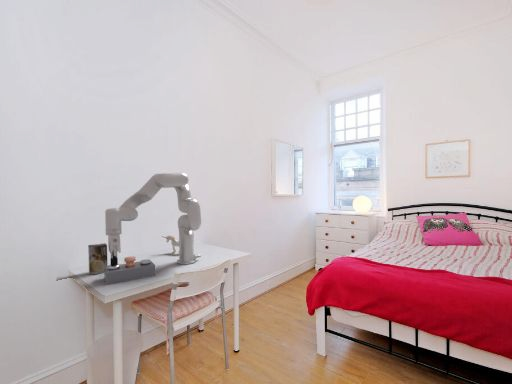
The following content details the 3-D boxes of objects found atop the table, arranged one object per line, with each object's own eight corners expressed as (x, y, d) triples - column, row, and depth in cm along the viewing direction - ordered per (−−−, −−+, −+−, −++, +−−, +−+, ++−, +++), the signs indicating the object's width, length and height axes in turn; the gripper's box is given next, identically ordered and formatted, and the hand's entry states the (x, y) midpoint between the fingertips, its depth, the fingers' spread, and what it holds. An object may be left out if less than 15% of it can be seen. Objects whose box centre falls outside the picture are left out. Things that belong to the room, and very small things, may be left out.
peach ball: (134, 266, 149) (134, 256, 149) (136, 269, 145) (136, 258, 144) (123, 268, 146) (123, 257, 146) (125, 270, 141) (125, 259, 141)
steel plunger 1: (118, 274, 145) (118, 263, 144) (120, 277, 140) (120, 265, 140) (107, 276, 141) (107, 265, 141) (108, 279, 137) (108, 267, 137)
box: (150, 269, 157) (150, 259, 157) (155, 275, 147) (155, 265, 147) (104, 277, 143) (104, 266, 143) (106, 284, 134) (106, 273, 133)
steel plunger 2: (149, 268, 154) (149, 258, 154) (151, 271, 149) (151, 261, 149) (139, 270, 151) (139, 260, 150) (141, 273, 146) (141, 262, 146)
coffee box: (106, 269, 158) (106, 242, 157) (107, 272, 152) (107, 244, 152) (88, 272, 152) (88, 244, 152) (89, 275, 147) (88, 247, 147)
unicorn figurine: (165, 251, 199) (165, 234, 199) (190, 252, 198) (190, 234, 198) (161, 254, 192) (161, 236, 192) (187, 254, 191) (187, 236, 191)
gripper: (123, 232, 136) (124, 267, 137) (119, 228, 148) (119, 260, 149) (107, 234, 132) (107, 270, 132) (104, 230, 144) (104, 262, 145)
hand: (114, 265), depth 141 cm, fingers closed
